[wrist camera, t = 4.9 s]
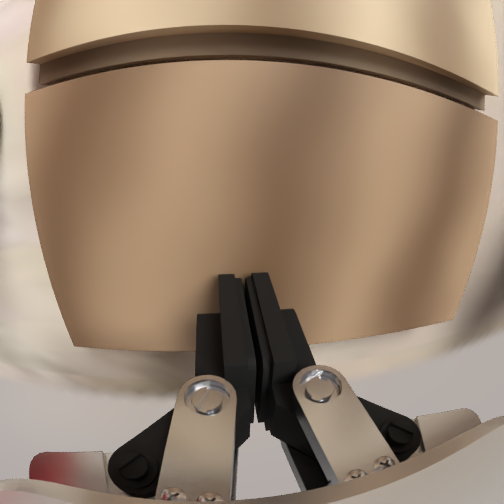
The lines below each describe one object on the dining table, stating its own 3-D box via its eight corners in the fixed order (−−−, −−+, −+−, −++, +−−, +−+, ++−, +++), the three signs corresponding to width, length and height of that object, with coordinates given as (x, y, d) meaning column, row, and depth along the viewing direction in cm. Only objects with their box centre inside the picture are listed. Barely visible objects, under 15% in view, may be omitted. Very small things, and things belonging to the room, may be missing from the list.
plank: (475, 117, 9) (497, 121, 8) (438, 304, 13) (452, 319, 12) (47, 95, 7) (25, 94, 6) (85, 325, 12) (74, 346, 10)
